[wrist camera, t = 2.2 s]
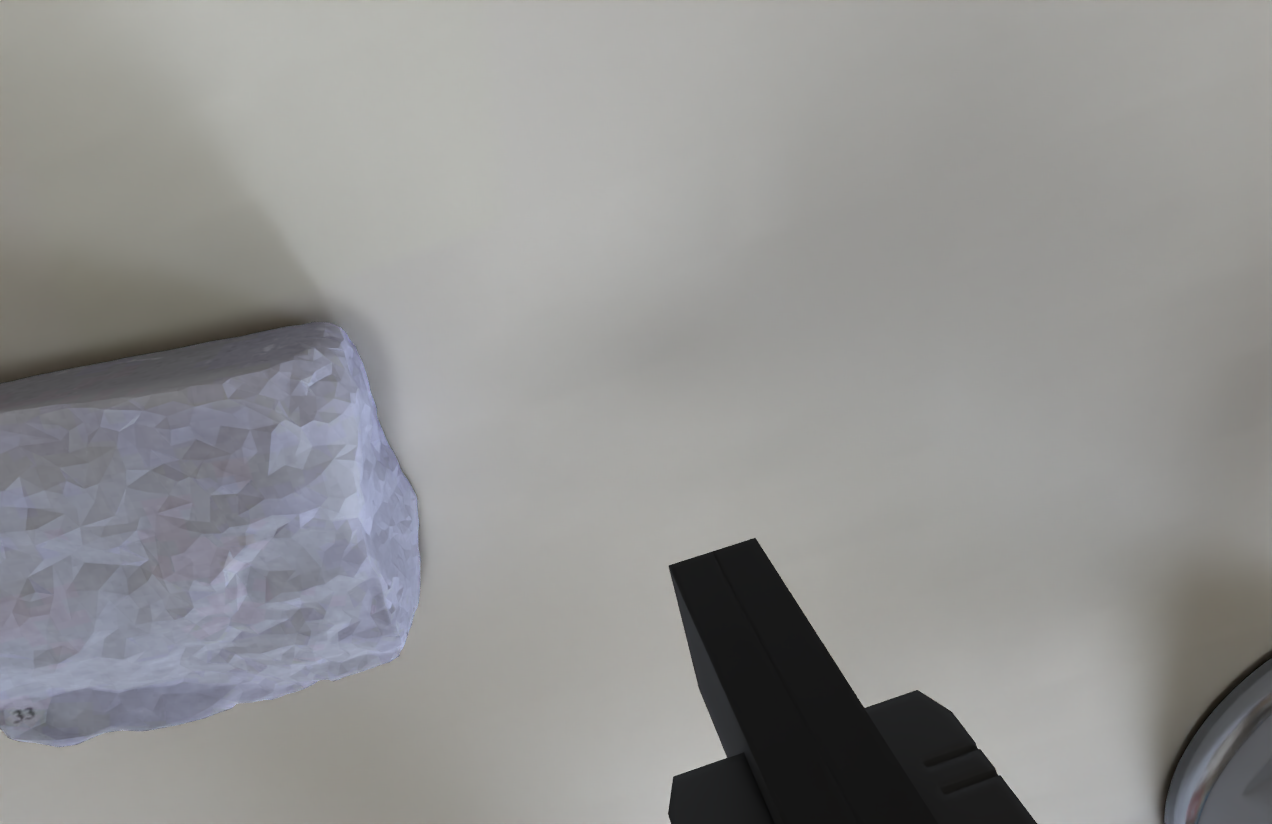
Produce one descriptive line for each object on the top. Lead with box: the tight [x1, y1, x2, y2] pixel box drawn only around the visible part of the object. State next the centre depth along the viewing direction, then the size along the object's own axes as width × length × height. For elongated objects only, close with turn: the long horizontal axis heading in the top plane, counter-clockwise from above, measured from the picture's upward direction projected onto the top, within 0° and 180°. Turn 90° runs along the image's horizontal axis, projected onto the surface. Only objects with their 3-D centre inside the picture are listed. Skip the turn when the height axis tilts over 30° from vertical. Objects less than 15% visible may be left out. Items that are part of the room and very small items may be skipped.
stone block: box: [0, 322, 421, 747], centre depth 22 cm, size 12×5×10 cm
